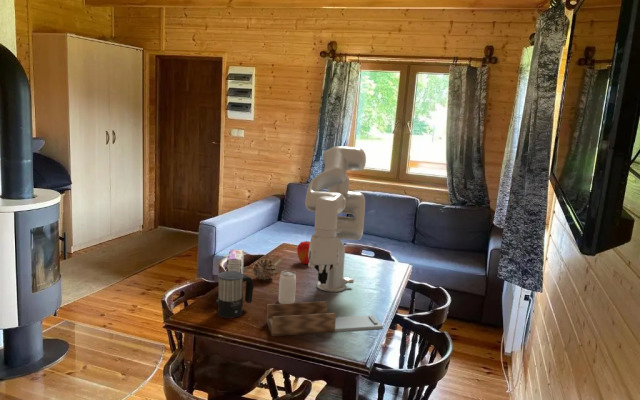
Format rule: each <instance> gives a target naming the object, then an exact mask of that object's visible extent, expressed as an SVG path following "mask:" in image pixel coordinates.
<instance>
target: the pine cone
mask: <svg viewBox="0 0 640 400" xmlns="http://www.w3.org/2000/svg"><path fill="white" fill-rule="evenodd" d="M282 260H283V259H282V258H280V259H279V258H278V260H277V261H276V262H273V260H271V259H268V258H261V259H260V258H259V259H258V260H257V261H256V262H254V264H253V265H252V268H253V269H252V272H253V275H254V276H255V277H256V278H257V279H259V280H261V279H262V281H264V280H269V279H270V278H272V277H274V276H275V273H276V272H277V270H276V269H277V266H278V265H280V264H281V263H283V261H282Z"/></svg>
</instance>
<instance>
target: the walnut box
mask: <svg viewBox="0 0 640 400" xmlns="http://www.w3.org/2000/svg"><path fill="white" fill-rule="evenodd" d="M266 305H267V306H266V325H267V328H268V329H269V332H270V334H271V336H272V337H280V336H281V337H283V336H297V335H298V336H299V335H309V334H325V333H335V332H336V331H335V322H336V317H337V313H336V312H328V301H327V300H325V301H307V302H294V303H284V304H280V303H272V304H266Z"/></svg>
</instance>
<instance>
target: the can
mask: <svg viewBox="0 0 640 400" xmlns="http://www.w3.org/2000/svg"><path fill="white" fill-rule="evenodd" d="M278 282H279V283H278V304H284V303H296V302H295V301H296V287H297V286H296V285H297V284H296V283H297V275H296V273H295V272H294V271H291V270H283V271H281V272H280V274H279V281H278Z"/></svg>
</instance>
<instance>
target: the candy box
mask: <svg viewBox="0 0 640 400" xmlns="http://www.w3.org/2000/svg"><path fill="white" fill-rule="evenodd" d="M244 251H245V250H244V249H236V248H235V249H232V248H231V249H230V250H229V253H228V255H227V260H226V271H237V272H240V273H242V274H243V275H244V254H245V253H244Z"/></svg>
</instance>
